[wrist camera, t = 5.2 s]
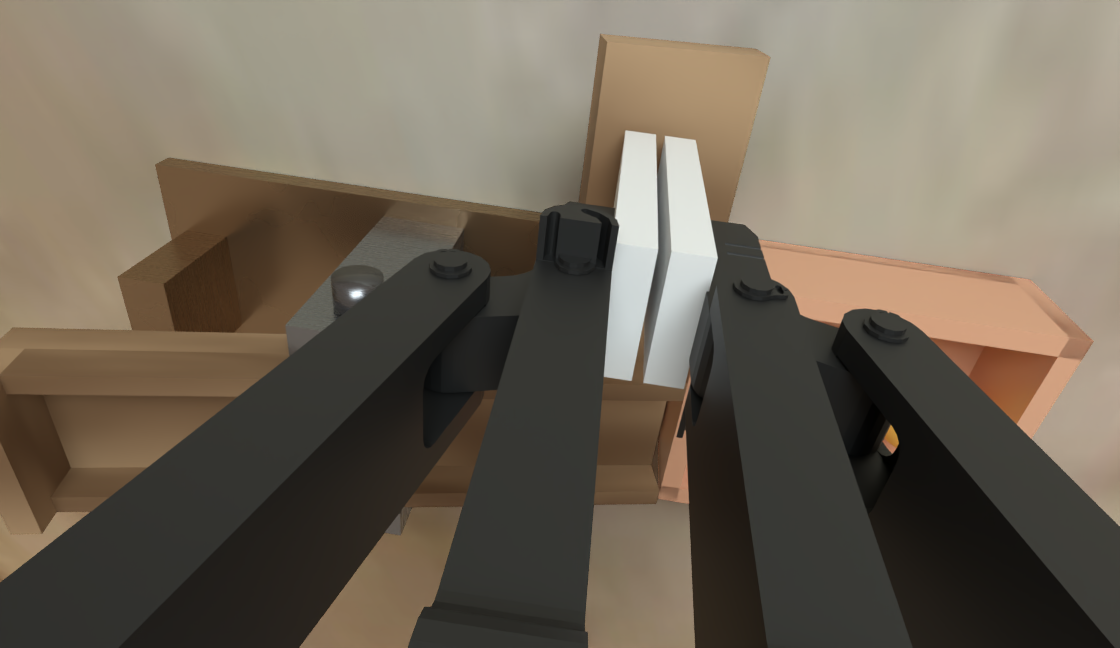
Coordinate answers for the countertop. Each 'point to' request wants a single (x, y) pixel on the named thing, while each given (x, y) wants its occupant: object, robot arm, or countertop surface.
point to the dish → (941, 313)
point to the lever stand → (299, 251)
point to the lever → (244, 358)
